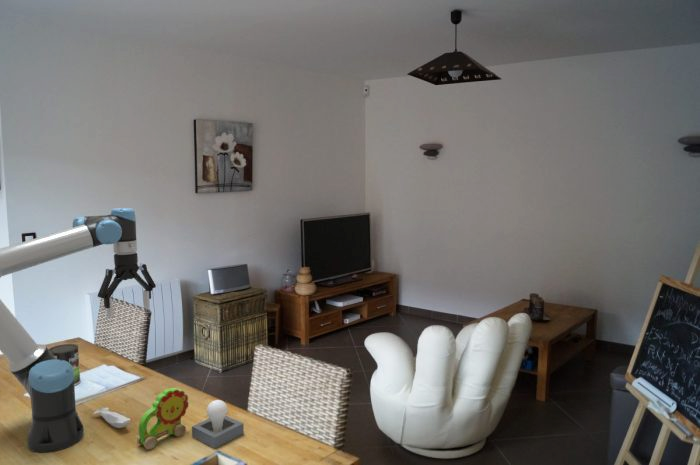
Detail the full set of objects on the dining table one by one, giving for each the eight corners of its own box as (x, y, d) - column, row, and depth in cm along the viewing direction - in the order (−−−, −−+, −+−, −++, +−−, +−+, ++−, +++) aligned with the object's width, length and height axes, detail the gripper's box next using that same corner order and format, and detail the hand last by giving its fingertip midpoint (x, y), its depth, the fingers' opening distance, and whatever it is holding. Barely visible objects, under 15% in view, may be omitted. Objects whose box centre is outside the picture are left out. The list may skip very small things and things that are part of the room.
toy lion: (146, 452, 157) (143, 403, 155) (136, 446, 160) (133, 397, 158) (192, 431, 169) (190, 385, 167) (182, 426, 172) (180, 381, 170)
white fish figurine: (118, 435, 166) (118, 423, 166) (92, 419, 178) (91, 407, 177) (135, 428, 170) (134, 416, 170) (108, 413, 182) (108, 402, 181)
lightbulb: (230, 430, 169) (229, 396, 167) (224, 440, 163) (223, 405, 161) (211, 429, 169) (210, 396, 168) (204, 439, 163) (203, 404, 162)
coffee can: (85, 378, 210) (83, 343, 209) (71, 389, 200) (69, 353, 198) (59, 378, 211) (57, 343, 209) (44, 389, 200) (41, 352, 199)
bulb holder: (214, 448, 158) (214, 437, 158) (192, 437, 165) (191, 426, 165) (243, 434, 167) (243, 423, 167) (221, 423, 174) (220, 413, 173)
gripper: (95, 259, 173) (99, 322, 176) (163, 249, 193) (166, 306, 195) (84, 256, 178) (88, 318, 181) (152, 247, 197) (155, 303, 200)
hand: (129, 312), depth 188 cm, fingers open, 13 cm apart
